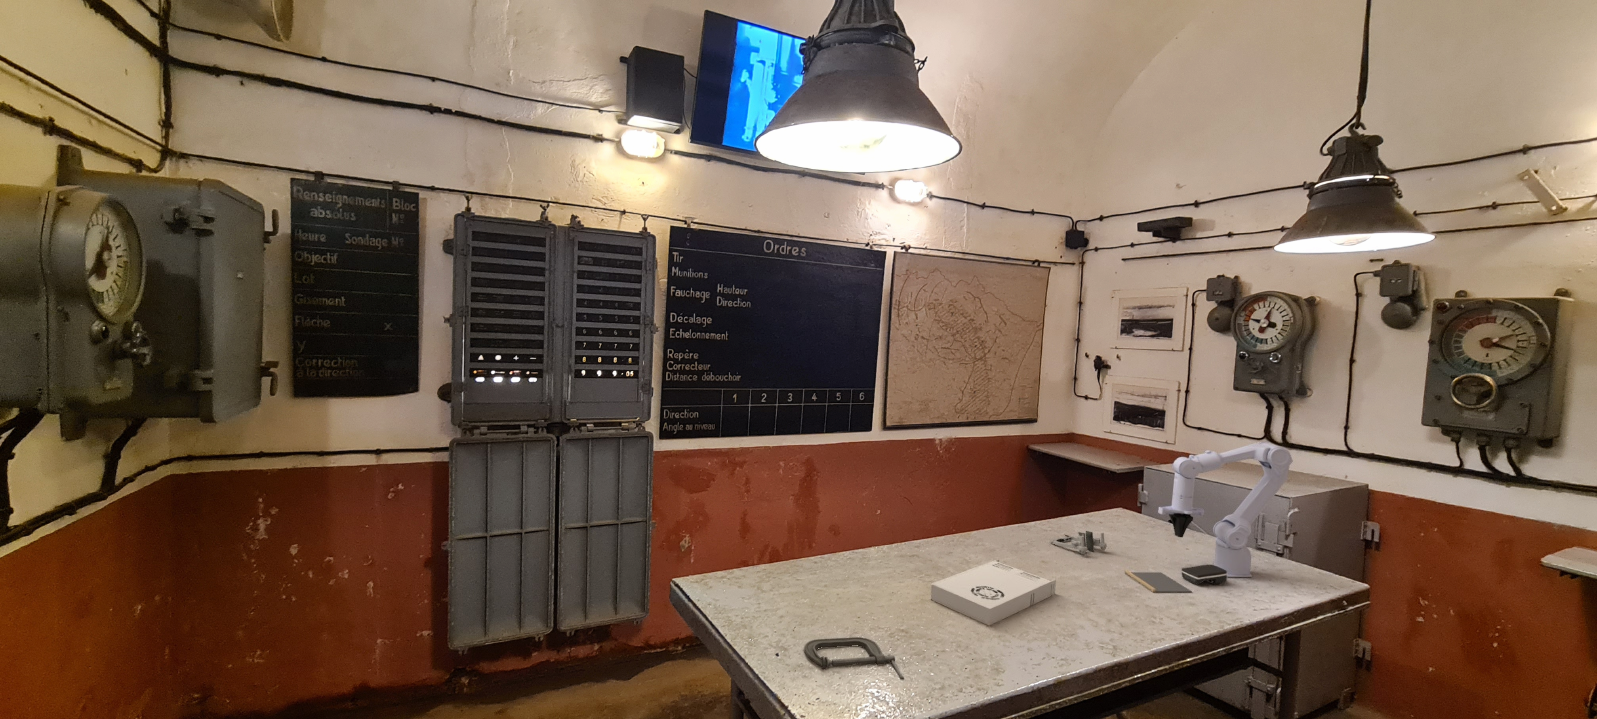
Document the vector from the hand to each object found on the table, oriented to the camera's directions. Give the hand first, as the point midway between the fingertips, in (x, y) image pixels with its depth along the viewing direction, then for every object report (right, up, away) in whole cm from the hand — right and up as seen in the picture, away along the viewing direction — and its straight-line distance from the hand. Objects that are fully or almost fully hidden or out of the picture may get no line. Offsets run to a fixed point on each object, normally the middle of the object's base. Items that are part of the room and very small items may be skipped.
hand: (1178, 536), depth 210 cm
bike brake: (-27, -9, +17) cm, 33 cm away
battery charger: (-4, -10, -11) cm, 15 cm away
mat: (-14, -11, -13) cm, 21 cm away
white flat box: (-68, -10, -27) cm, 74 cm away
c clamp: (-111, -11, -63) cm, 128 cm away
